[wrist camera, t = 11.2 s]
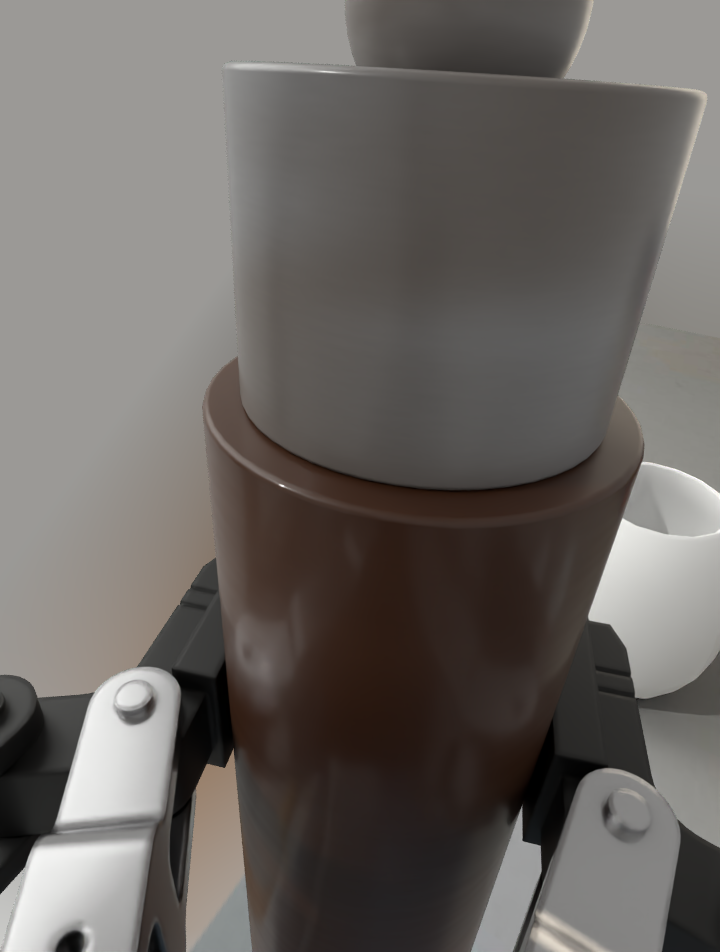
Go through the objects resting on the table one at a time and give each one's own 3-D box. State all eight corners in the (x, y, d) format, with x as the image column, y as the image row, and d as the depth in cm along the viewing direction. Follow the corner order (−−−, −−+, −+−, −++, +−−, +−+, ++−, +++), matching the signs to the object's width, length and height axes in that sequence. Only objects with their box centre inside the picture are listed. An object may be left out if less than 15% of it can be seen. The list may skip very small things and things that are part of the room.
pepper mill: (230, 1098, 15) (-48, -344, 3) (290, 887, 19) (279, -91, 7) (427, 1162, 14) (1141, -402, 2) (447, 928, 18) (738, -83, 6)
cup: (597, 566, 53) (644, 427, 46) (739, 680, 43) (828, 527, 36) (473, 616, 47) (504, 466, 40) (606, 759, 38) (678, 597, 30)
